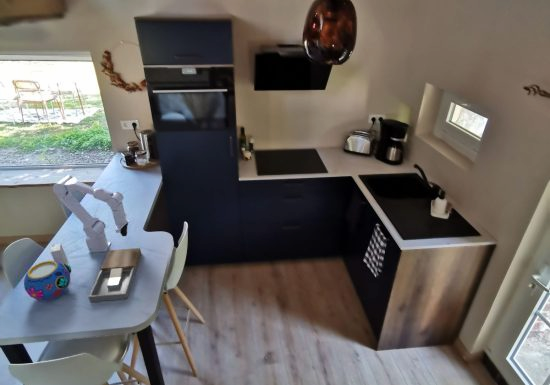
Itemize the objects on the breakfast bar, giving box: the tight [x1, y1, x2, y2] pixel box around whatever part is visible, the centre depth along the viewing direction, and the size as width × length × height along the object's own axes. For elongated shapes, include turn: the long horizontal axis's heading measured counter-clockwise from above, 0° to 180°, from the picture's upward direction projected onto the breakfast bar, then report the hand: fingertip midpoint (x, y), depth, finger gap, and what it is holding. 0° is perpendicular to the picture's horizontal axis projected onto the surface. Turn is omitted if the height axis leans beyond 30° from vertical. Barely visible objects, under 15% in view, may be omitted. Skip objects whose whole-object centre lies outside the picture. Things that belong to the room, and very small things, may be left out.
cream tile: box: [110, 268, 123, 279], centre depth 165 cm, size 5×5×2 cm
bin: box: [88, 268, 137, 303], centre depth 160 cm, size 16×18×4 cm
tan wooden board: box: [100, 247, 142, 272], centre depth 173 cm, size 16×14×4 cm
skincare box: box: [50, 243, 69, 265], centre depth 169 cm, size 6×4×12 cm
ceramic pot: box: [23, 260, 72, 302], centre depth 153 cm, size 18×18×15 cm
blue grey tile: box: [107, 277, 121, 289], centre depth 161 cm, size 5×5×2 cm
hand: (124, 235), depth 180 cm, fingers closed
